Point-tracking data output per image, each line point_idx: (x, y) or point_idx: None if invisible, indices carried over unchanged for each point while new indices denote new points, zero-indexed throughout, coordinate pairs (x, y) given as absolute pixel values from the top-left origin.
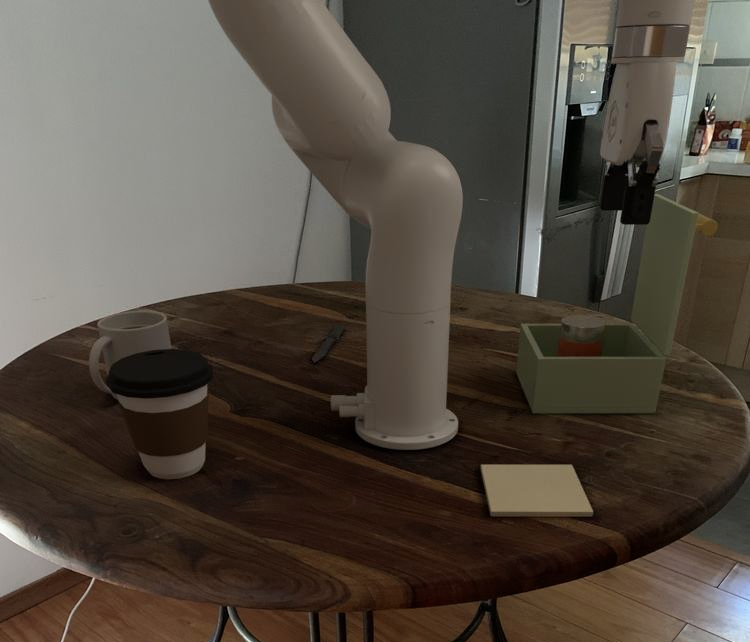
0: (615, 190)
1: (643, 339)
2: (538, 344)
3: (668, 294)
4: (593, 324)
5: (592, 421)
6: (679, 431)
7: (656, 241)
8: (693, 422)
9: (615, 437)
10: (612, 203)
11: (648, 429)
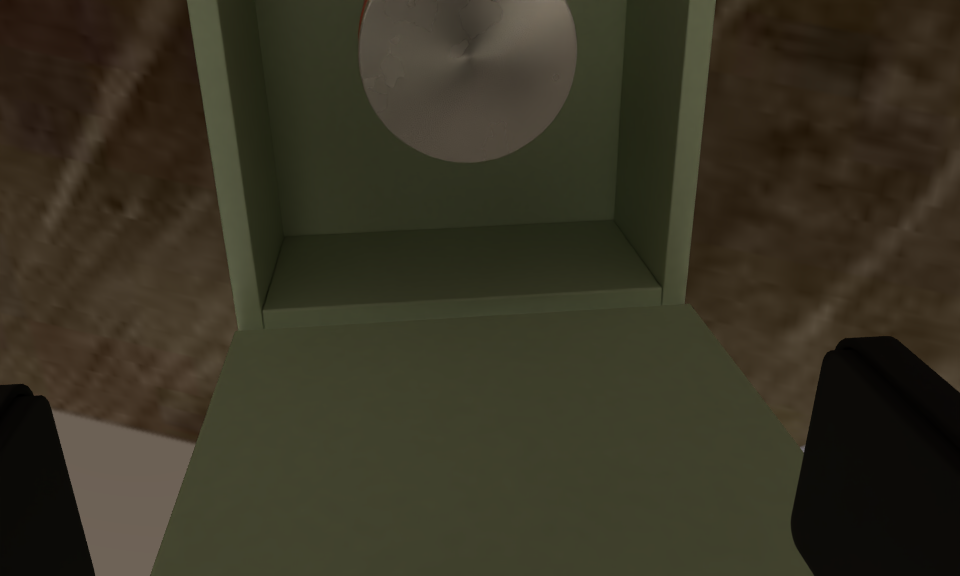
0: (910, 558)
1: (470, 303)
2: None
3: (281, 457)
4: (415, 97)
5: (171, 27)
6: (137, 284)
7: (642, 573)
8: (215, 337)
9: (45, 79)
10: (842, 458)
11: (135, 199)
